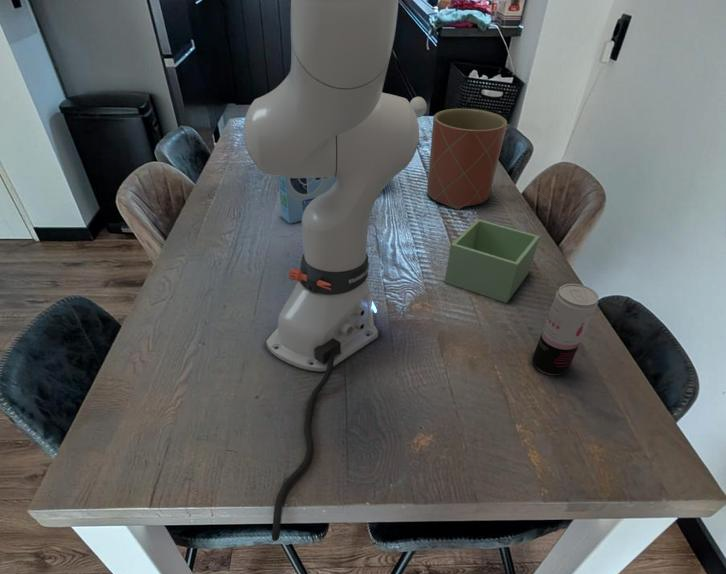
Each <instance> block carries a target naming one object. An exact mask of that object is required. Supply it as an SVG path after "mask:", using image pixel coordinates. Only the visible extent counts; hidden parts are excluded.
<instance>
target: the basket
mask: <svg viewBox="0 0 726 574" xmlns="http://www.w3.org/2000/svg"><path fill="white" fill-rule="evenodd" d="M540 238H541V236H540V235H537V234H534V233H530V232H526V231H523V230H520V229H517V228H512V227H509V226H505V225H501V224H498V223H493V222H490V221H486V220H483V219H480V218H477V219H476V220H475V221H474V222H473V223H472V224H471V225H469V227H468V228H467V229H465V230H464V231H463V232H462V233H461V234H460V235H459V236H458V237H457V238H456V239H455V240H454V241H453V242H452V243H451V244H450V246H449V247H450V248H449V255H448V258H447V259H448V260H447V265H446V271H445V278H444V283H446V284H449V285H451V286H455V287H458V288H461V289H464V290H467V291H470V292H472V293H475V294H478V295H481V296H484V297H487V298H490V299H493V300H496V301H499V302H502V303H505V304H506V303H508V302H509V301H510V299H511V298H512V297H513V295H514V294H515V293H516V291H517V290H518V289H519V287H520V286H521V285H522V283H523V282H524V280H525V279H526V278H527V276H528V275H529V273H530V270H531V267H532V264H533V262H534V261H533V260H534V257H535V255H536V251H537V248H538V245H539V241H540Z"/></svg>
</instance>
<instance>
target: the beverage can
mask: <svg viewBox="0 0 726 574" xmlns="http://www.w3.org/2000/svg"><path fill="white" fill-rule="evenodd" d="M599 297H600V296H599V295H598V293H597V292H596V291H595V290H594V289H592V288H590V287H588V286H586V285H583V284H579V283H566V284H563V285H561V286H560V287H559V288H558V290H557V291H556V293H555V296H554V298H553V301H552V304H551V307H550V309H549V311H548V314H547V317H546V320H545V322H544V325H543V328H542V331H541V334H540V337H539V339H538V342H537V343H536V347H535V350H534V352H533V355H532V359H531V360H532V364H533V365H534V366H535V368H536V369H537V370H539V372H541V373H544V374H545V375H550V376H559V375H563V374H565V373H566V372H568V370H569V369H570V367H571V364H572V362H573V360H574V358H575V355H576V353H577V351H578V349H579V347H580V345H581V342H582V340H583V338H584V335H585V333H586V331H587V329H588V327H589V324H590V322H591V320H592V318H593V316H594V314H595V311H596V309H597V307H598V304H599Z"/></svg>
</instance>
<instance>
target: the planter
mask: <svg viewBox="0 0 726 574" xmlns="http://www.w3.org/2000/svg"><path fill="white" fill-rule="evenodd" d="M432 121H433V122H432V129H431V130H432V131H431V132H432V133H431V140H430V141H431V142H430V150H429V151H430V153H429V163H428V165H429V166H428V167H429V168H428V175H427V176H428V178H427V189H426V190H427V196H428V197H430V199H432V200H434V201H435V202H437V203H440V204H443V205H446V206H447V207H450V208H452V209H455V210H461V209H462V208H463V207H470V206H476V205H477V206H478V205H480V204H483V203H485V202H486V201H488V199H489V198H490V194H491V190H492V186H493V182H494V179H495V175H496V171H497V167H498V163H499V159H500V155H501V151H502V147H503V144H504V139H505V135H506V131H507V127H508V121H507V119H506V118H505V117H503V116H502V115H500V114H498V113H495V112H491V111H488V110H482V109H477V108H476V109H475V108H449V109H444V110H441V111H438V112H436V113H435V114H434V115H433V118H432Z"/></svg>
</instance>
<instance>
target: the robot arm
mask: <svg viewBox="0 0 726 574" xmlns="http://www.w3.org/2000/svg"><path fill="white" fill-rule="evenodd" d="M398 11H399V0H290V48H291V50H290V51H291V53H290V54H291V55H290V56H291V57H290V70H289V72H288V74H287V76H286V77H285V78H284V79H283V80H282V81H281V83H280V84H278V85H277V86H276V87H275V88H273V89H272V90H271V91H269V92H268V93H265V94H264V95H262V96H259V97H257V98H255V99H254V100H253V101H252V103H250V106H249V107H248V109H247V112H246V114H245V117H244V120H243V121H244V122H243V139H244V144H245V148H246V151H247V153H248V155H249V157H250V159H251V161H252V162H253V164H254V165H255V166H256V168H257V169H258V170H259V171H260V172H262V173H263V174H267V175H271V176H275V177H276V176H277V177H278V176H282V177H288V178H326V177H335V178H337V180H336V182H335V183H334V185H333V186H332V187H331V188H330V189H329V190H328V191H326V192H325V193H323V194H321V195H319V196H317V197H316V198H315V199H313V200H312V201H311V202H310V203H309V204H308V206H307V207H306V208H305V210H304V212H303V215H302V221H301V230H302V231H301V232H302V233H301V234H302V246H303V254H302V256H301V261H300V267H299V269H298V268H295V267H292V268H291V269H290V270H289V273H288V275H289V276H288V278H289V279H290V280H291V281H296V282H297V283H296V285H295V287H294V289H293V290H292V292H291V294H290V295H289V297H288V298H287V300H286V302H285V304H284V306H283V308H282V310H281V311H280V313H279V314H278V320H277V327H276V329H275V330H274V331H273V332H272V333H271V334H270V336H268V338H267V340H266V347H267V350H269V352H270V353H271V354H272V355H273V356H275V357H276V358H278V359H279V360H281V361H283V362H285V363H287V364H289V365H292V366H294V367H295V368H299V369H302V370H306V371H310V372H325V373H324V375H323V377H322V378H321V380H320V381H319V383H318V384H316V386H315V388H314V389H313V391H312V393H311V395H310V397H309V399H308V403H307V406H306V411H305V417H304V425H303V427H304V428H303V431H304V438H305V443H306V450H305V451H306V452H305V454H304V455H305V456H304V458H303V460H302V462H301V464H300V465H299V466H298V467H297V468H296V469H295V470H294V471H293V472H292V473H291V474H290V475H289V476H288V478H287V479H286V480H285V481H284V483H282V485H281V488H280V489H279V492H278V494H277V496H276V499H275V503H274V506H273V507H274V509H273V517H272V530H271V540H272V541H273V542H277V541H278V540H279V539H280V535H281V522H282V510H283V505H284V500H285V498H286V495H287V493H288V491H289V489H290V487H291V486H292V484H294V482H295V481H296V480H297V479H298V478H299V477H300V476H301V475H302V474H303V473H304V472H305V470H306V469H307V468H308V466H309V465H310V463H311V460H312V458H313V456H314V455H313V454H314V442H313V441H314V440H313V436H312V435H313V434H312V427H311V426H312V417H313V411H314V406H315V403H316V402H317V401H316V400H317V398H318V396H319V394H320V392H321V391H322V390H323V388H324V387H325V385H326V384H327V383H328V381H329V379H330V377H331V376H332V373H333V369H334V367H335V366H337V365H338V364H340V363H341V362H342V361H344V360H346V359H347V358H348V357H350V356H352V355H354V353H356V352H358V351H359V350H361V349H362V348H364V347H366V346H367V345H369V344H370V343H371V342H373V341H375V340H376V339H377V338H378V337H379V330H378V328H377V327H376V326H375V324H374V313H375V314H376V313H377V308H376V305H375V303H374V301H373V295H372V293H371V289H370V287H369V284H368V281H367V279H368V277H369V269H370V262H369V254H368V253H367V247H368V245H367V243H368V231H369V224H370V218H371V213H372V211H373V208H374V205H375V203H376V202H377V199H378V198H379V196H380V195H381V193H382V191H383V190H384V189H385V187H386V186H387V185H388V184H389V183H390V182H391V180H392V179H394V178H395V177H396V176H397V175H399V173H401V172H402V171H403V170H405V169H406V168H407V167H408V166H409V164H410V163H411V162H412V160H413V159H414V157H415V154H416V152H417V149H418V144H419V141H420V126H419V120H418V118H417V116H416V113H415V111H414V109H413V107H412V106H411V104H410V101H409V100H408V99H407V98H405V97H402V96H399V95H395V94H391V93H386V92H383V89H384V84H385V81H386V76H387V73H388V68H389V65H390V59H391V56H392V52H393V46H394V42H395V36H396V30H397V22H398V13H399V12H398Z"/></svg>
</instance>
